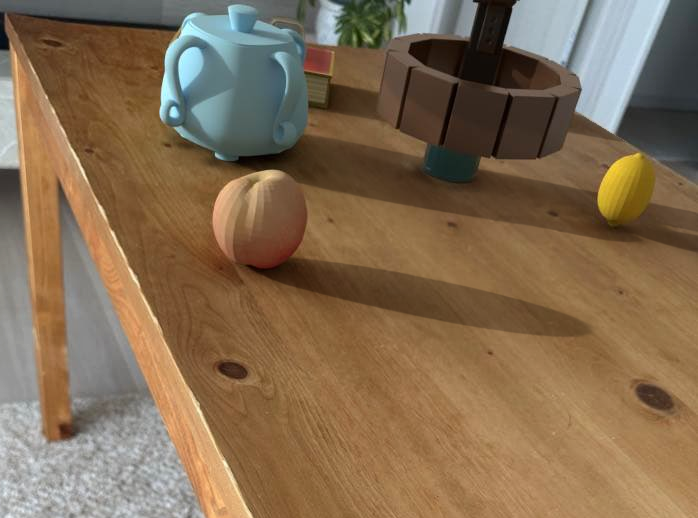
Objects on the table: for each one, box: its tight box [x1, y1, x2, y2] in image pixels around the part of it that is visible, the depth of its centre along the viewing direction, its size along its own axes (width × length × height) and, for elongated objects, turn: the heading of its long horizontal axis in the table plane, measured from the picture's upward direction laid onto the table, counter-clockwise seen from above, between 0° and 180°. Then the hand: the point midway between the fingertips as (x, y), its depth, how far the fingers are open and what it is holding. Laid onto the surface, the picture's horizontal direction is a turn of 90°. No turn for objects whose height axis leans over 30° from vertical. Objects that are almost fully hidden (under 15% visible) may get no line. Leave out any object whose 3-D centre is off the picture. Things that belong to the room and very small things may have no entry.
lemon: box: [597, 152, 656, 227], centre depth 95 cm, size 6×6×8 cm
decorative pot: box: [159, 4, 309, 162], centre depth 95 cm, size 16×16×14 cm
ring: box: [375, 32, 583, 161], centre depth 70 cm, size 15×15×4 cm
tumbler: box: [421, 143, 482, 183], centre depth 100 cm, size 6×6×8 cm
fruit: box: [212, 169, 309, 270], centre depth 76 cm, size 8×8×8 cm
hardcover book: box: [166, 24, 336, 109], centre depth 116 cm, size 12×21×4 cm, turn 86°
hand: (474, 87), depth 76 cm, fingers closed on ring, 2 cm apart
